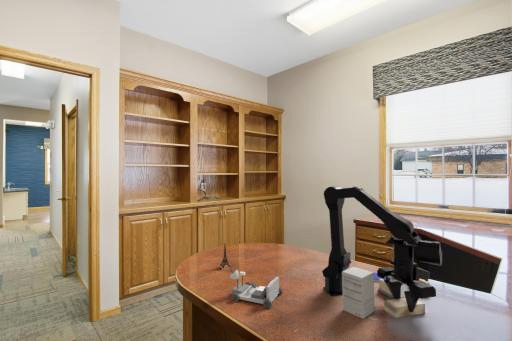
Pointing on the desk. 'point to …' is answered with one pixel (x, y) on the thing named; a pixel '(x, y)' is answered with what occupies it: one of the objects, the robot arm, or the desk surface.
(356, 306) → the supplement box
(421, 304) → the board
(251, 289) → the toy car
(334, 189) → the robot arm
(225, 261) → the eiffel tower figurine
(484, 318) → the desk surface
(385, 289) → the peg base
